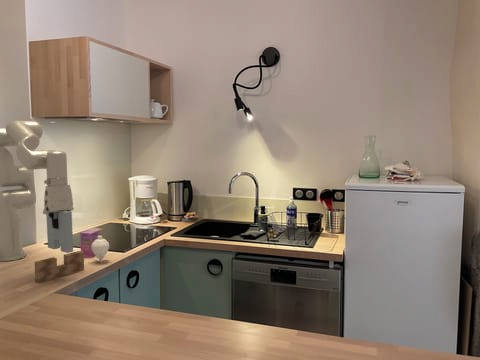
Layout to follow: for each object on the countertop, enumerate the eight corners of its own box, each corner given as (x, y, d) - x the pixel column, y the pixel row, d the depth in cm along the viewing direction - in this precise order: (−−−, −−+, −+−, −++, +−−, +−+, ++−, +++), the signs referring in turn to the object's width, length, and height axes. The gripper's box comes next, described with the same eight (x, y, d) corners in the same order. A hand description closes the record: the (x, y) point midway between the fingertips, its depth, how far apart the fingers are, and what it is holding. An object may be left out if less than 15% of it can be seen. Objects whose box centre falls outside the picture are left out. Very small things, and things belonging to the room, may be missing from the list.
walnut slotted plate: (38, 283, 163) (37, 262, 162) (35, 281, 165) (34, 261, 164) (84, 269, 179) (83, 251, 178) (80, 268, 181) (80, 250, 180)
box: (91, 258, 197) (90, 233, 196) (80, 257, 198) (79, 232, 197) (103, 252, 207) (102, 228, 206) (92, 251, 208) (91, 227, 207)
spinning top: (91, 265, 186) (90, 238, 185) (92, 260, 193) (91, 234, 192) (109, 263, 188) (108, 237, 187) (109, 259, 195) (109, 233, 194)
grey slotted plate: (73, 251, 168) (71, 211, 166) (67, 252, 166) (65, 212, 164) (53, 246, 176) (51, 208, 174) (47, 247, 174) (46, 209, 172)
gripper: (43, 184, 159) (45, 232, 161) (80, 181, 172) (82, 225, 174) (32, 183, 164) (34, 230, 165) (70, 180, 177) (72, 223, 178)
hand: (59, 227), depth 170 cm, fingers closed on grey slotted plate, 2 cm apart
